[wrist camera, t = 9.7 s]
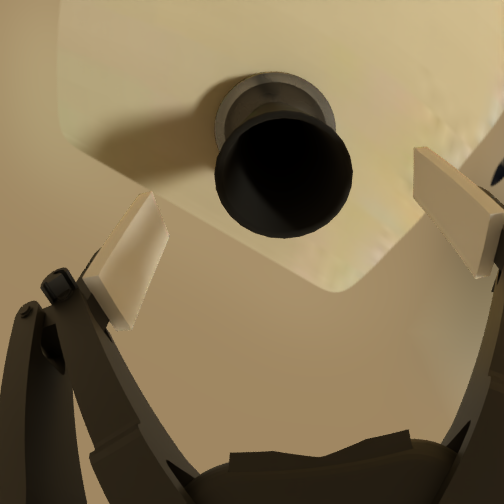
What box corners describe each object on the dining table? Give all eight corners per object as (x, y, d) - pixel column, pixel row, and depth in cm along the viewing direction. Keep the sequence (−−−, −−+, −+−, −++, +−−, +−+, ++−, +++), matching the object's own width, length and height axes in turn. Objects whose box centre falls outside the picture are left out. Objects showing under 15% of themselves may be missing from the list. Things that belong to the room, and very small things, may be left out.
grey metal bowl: (206, 84, 27) (201, 86, 25) (320, 64, 25) (326, 64, 23) (232, 185, 33) (230, 196, 31) (336, 168, 31) (342, 178, 29)
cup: (306, 178, 29) (329, 249, 19) (226, 162, 29) (206, 227, 19) (327, 101, 25) (370, 131, 15) (241, 82, 24) (226, 98, 14)
